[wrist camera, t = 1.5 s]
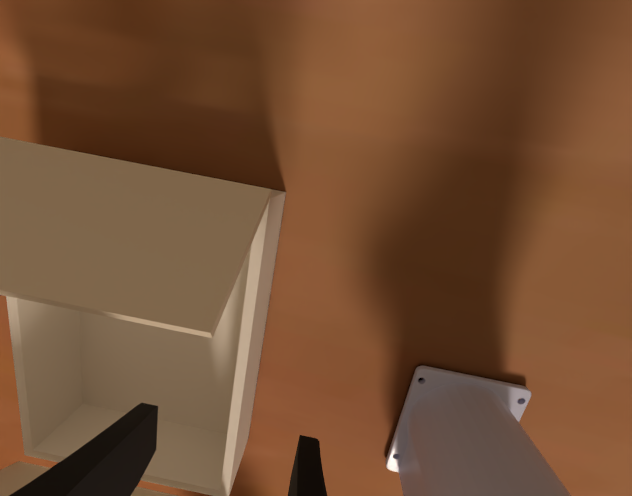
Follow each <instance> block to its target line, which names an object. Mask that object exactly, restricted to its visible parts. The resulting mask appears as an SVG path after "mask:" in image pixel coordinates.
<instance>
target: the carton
mask: <svg viewBox="0 0 632 496" xmlns="http://www.w3.org/2000/svg"><path fill="white" fill-rule="evenodd" d="M285 195H286V192H284V191H278V190H273V189H271V198H270V200H269V202H268V205H267V207H266V210H265V212H264V215H263V217H262V219H261V222H260V224H259V227H258V229H257V232H256V234H255V236H254V239H253V241H252V244H251V246H250V249H249V251H248V253H247V256H246V258H245V261H244V263H243V266H242V268H241V271H240V273H239V275H238V278H237V280H236V283H235V285H234V288H233V290H232V292H231V295H230V297H229V300H228V302H227V305H226V307H225V309H224V312H223V314H222V317H221V319H220V322H219V324H218V326H217V329H216V331H215V334H214V336H213V338H209V337H204V336H199V335H194V334H189V333H184V332H179V331H175V330H170V329H165V328H160V327H155V326H150V325H145V324H140V323H136V322H131V321H126V320H121V319H116V318H111V317H106V316H101V315H96V314H92V313H87V312H82V311H77V310H72V309H67V308H62V307H57V306H53V305H48V304H43V303H38V302H33V301H28V300H23V299H18V298H14V297H9V296H6V298H7V306H8V315H9V324H10V332H11V341H12V349H13V358H14V367H15V375H16V384H17V393H18V401H19V410H20V418H21V427H22V436H23V444H24V453H25V455H27V456H32V457H36V458H41V459H46V460H50V461H55V462H61V461H62V460H64V459H65V458H66V457H68V456H69V455H71V454H72V453H74V452H75V451H76V450H78V449H79V448H80V447H82V446H83V445H85V444H86V443H87V442H89V441H90V440H92V439H93V438H94V437H96V436H97V435H98V434H100V433H101V432H102V431H104V430H105V429H107V428H108V427H109V426H111V425H112V424H113V423H115V422H116V421H117V420H119V419H120V418H121V417H122V416H124V415H125V414H126V413H128V412H129V411H130V410H132V409H133V408H134V407H136V406H137V405H138V404H140V403H146V404H151V405H156V406H158V421H157V444H156V451H155V453H154V455H153V457H152V459H151V461H150V463H149V465H148V467H147V469H146V470H145V472H144V474H143V476H142V478H141V480H143V481H147V482H152V483H156V484H161V485H166V486H170V487H175V488H180V489H184V490H189V491H193V492H198V493H203V494H207V495H212V496H229V495H230V492H231V489H232V486H233V483H234V480H235V477H236V474H237V471H238V468H239V465H240V462H241V459H242V456H243V453H244V450H245V447H246V444H247V441H248V437H249V430H250V424H251V417H252V411H253V404H254V398H255V391H256V385H257V378H258V372H259V365H260V358H261V352H262V345H263V339H264V332H265V326H266V319H267V313H268V306H269V300H270V293H271V287H272V280H273V274H274V267H275V261H276V254H277V248H278V241H279V235H280V228H281V221H282V215H283V208H284V202H285Z"/></svg>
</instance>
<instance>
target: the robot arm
mask: <svg viewBox="0 0 632 496" xmlns="http://www.w3.org/2000/svg"><path fill="white" fill-rule="evenodd" d="M419 378H423V379H422V380H418V379H419ZM530 397H531V392H530V390H529V389H528V388H527V387H525V386H522V385H517V384H512V383H507V382H502V381H497V380H492V379H487V378H482V377H477V376H473V375H468V374H463V373H458V372H453V371H448V370H443V369H438V368H433V367H428V366H419V367H417V368H416V370H415V372H414V375H413V379H412V382H411V385H410V388H409V391H408V394H407V397H406V400H405V403H404V406H403V409H402V412H401V415H400V418H399V421H398V425H397V428H396V431H395V434H394V437H393V440H392V443H391V446H390V449H389V452H388V455H387V458H386V467H387V468H388V469H389V470H391V471H396V472H399V475H400V480H401V485H402V490H403V495H404V496H571V495H570V493H569V492H568V491H567V489H566V488H565V486H564V485H563V484H562V482H561V481H560V479H559V478H558V477H557V475H556V474H555V472H554V471H553V470H552V468H551V467H550V465H549V464H548V463H547V461H546V460H545V458H544V457H543V456H542V454H541V453H540V451H539V450H538V449H537V447H536V446H535V444H534V443H533V442H532V440H531V439H530V437H529V436H528V435H527V433H526V432H525V430H524V429H523V428H522V426H521V425H520V423H519V421H520V419H521V416H522V414H523V412H524V410H525V408H526V406H527V404H528V402H529V399H530ZM520 398H521V399H520ZM518 399H520V400H518ZM157 421H158V406H156V405H151V404H146V403H140V404H138V405H137V406H136V407H134V408H133V409H132V410H130V411H129V412H128V413H126V414H125V415H124V416H122V417H121V418H120V419H119V420H117V421H116V422H115V423H113V424H112V425H111V426H109V427H108V428H107V429H105V430H104V431H102V432H101V433H100V434H98V435H97V436H96V437H94V438H93V439H92V440H90V441H89V442H87V443H86V444H85V445H83V446H82V447H80V448H79V449H78V450H76V451H75V452H74V453H72V454H71V455H69V456H68V457H66V458H65V459H64V460H62V461H61V462H59V463H58V464H56V465H55V466H53V467H52V468H50V469H49V470H47V471H46V472H44V473H43V474H41V475H40V476H38V477H37V478H35V479H34V480H32V481H31V482H29V483H28V484H26V485H25V486H23V487H22V488H20V489H19V490H17V491H15V492H14V493H12V494H11V495H9V496H131V494H132V493H133V491H134V490H135V488H136V486H137V485H138V483H139V481H140V480H141V478H142V476H143V474H144V472H145V470H146V469H147V467H148V465H149V463H150V461H151V459H152V457H153V455H154V453H155V451H156V444H157ZM288 496H327V493H326V488H325V483H324V477H323V471H322V464H321V457H320V446H319V441H318V439H316V438H311V437H307V436H302V435H300V437H299V442H298V447H297V451H296V456H295V461H294V465H293V470H292V475H291V480H290V486H289V492H288Z"/></svg>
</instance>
